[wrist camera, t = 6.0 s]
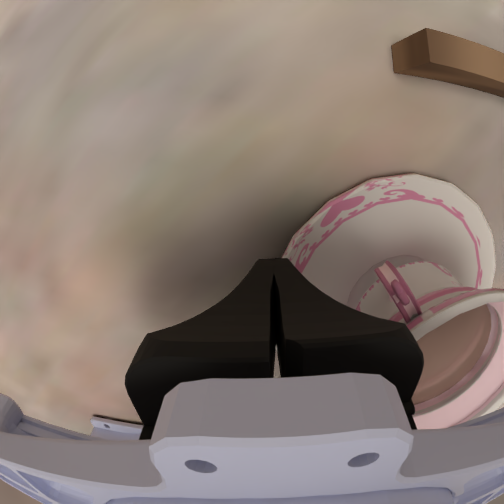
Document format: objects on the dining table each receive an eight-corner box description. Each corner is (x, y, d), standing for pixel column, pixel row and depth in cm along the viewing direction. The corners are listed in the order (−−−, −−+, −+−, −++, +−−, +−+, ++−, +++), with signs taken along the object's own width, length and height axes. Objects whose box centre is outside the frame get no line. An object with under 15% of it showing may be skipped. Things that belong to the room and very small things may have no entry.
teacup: (504, 305, 13) (560, 370, 8) (344, 411, 17) (361, 496, 11) (438, 117, 10) (551, 134, 4) (209, 284, 13) (178, 397, 8)
